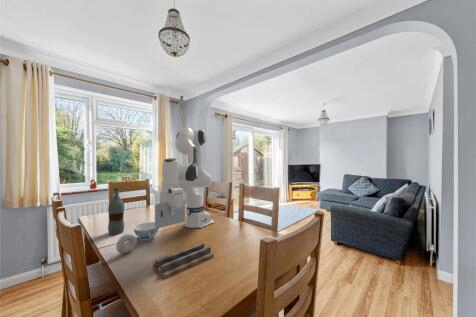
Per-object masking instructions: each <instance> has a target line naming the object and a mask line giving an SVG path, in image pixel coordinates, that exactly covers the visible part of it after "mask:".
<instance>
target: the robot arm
mask: <svg viewBox="0 0 476 317" xmlns="http://www.w3.org/2000/svg"><path fill="white" fill-rule="evenodd" d="M175 139H176V140H175V148H176V149H177V151H178V152H180V153H181V154H183V155H186V156H187V163H186V164H185V163H179V159H178V158H174V157H173V158H172V157H171V158H164V159H163V161H162V167H161V177H162V181H161V190H160V191H159V202H160V203H165V202H167V203H168V205H169V206H170V207H171V211H170V214H171V215H174V211H175V209H179V208H182V207H183V200H184V193H185V196H186V207H185V213H186V216H185V222H184V227H186V228H190V229H196V228H197V229H203V228H204V226H205V227H207V226H209V224H210V225H212V224H214V223H215V221H214V220H213V219H212V218H211V214H210V213H209V212H207V211H206V209H207V206H206V205H203V197H202V194H201V193H199V192H197V191H195V190H194V189H200V188H201V189H202V188H203V189H204V188H208V187H210V186H211V184H212V182H213V179H212V176H211V174H210V173H208V172H207V171H206V170H205V168H204V166H203V149H202V146H203V145H204V144H205V143H206V142H207V134H206V131H205V130H203V129H191V128H190V127H183V128H182V129H180V131H179V132H177V134H176V138H175ZM211 223H212V224H211Z"/></svg>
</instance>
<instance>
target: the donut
mask: <svg viewBox="0 0 476 317" xmlns="http://www.w3.org/2000/svg"><path fill="white" fill-rule="evenodd" d="M127 241H129V243H128V245H126V246H125V243H126V242H127ZM137 242H138V240H137V237H136V236H135V235H134V234H132V233H126V234H124V235H121V236H120V238H119V239H118V240H117V241H116V245H115V247H116V250H117V252H118V253H120V254H125V255H126V254H128V253H130V252H131V251H133V250H134V248H135V247H136V245H137Z"/></svg>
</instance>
